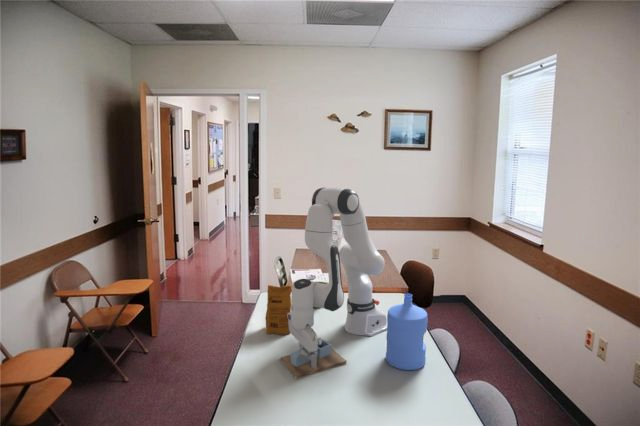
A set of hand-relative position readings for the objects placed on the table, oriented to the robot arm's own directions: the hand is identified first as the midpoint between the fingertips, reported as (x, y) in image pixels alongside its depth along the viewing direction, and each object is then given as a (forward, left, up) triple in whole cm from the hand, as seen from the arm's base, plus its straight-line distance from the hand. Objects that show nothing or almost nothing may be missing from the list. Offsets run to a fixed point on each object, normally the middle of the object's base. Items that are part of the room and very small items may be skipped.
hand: (302, 352), depth 174 cm
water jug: (-36, +21, -3) cm, 41 cm away
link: (-2, +2, -2) cm, 4 cm away
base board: (-3, +4, -3) cm, 6 cm away
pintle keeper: (-2, +5, -2) cm, 5 cm away
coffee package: (-2, -28, -3) cm, 29 cm away
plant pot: (-32, -45, -3) cm, 56 cm away
